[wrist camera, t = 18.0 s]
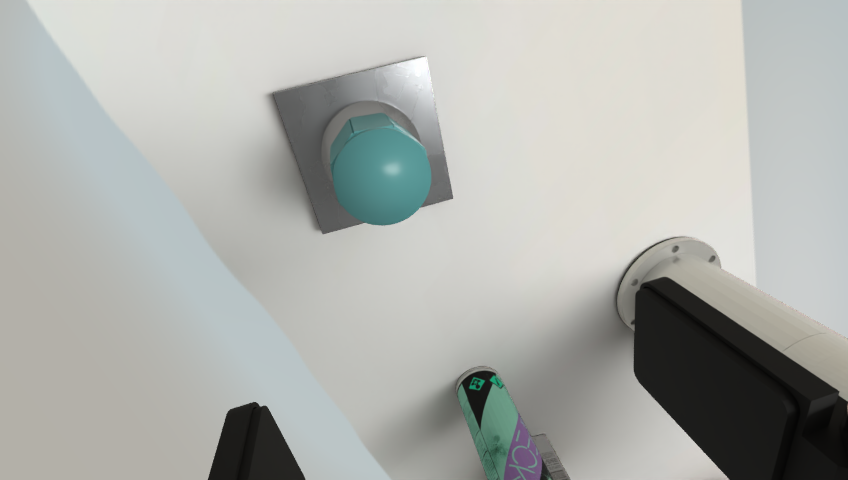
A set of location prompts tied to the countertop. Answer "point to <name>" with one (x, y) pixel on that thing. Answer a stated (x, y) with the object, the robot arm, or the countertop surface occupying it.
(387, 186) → the cap
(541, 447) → the coffee box
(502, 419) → the spray can
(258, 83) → the countertop surface
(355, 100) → the acorn nut on plate
